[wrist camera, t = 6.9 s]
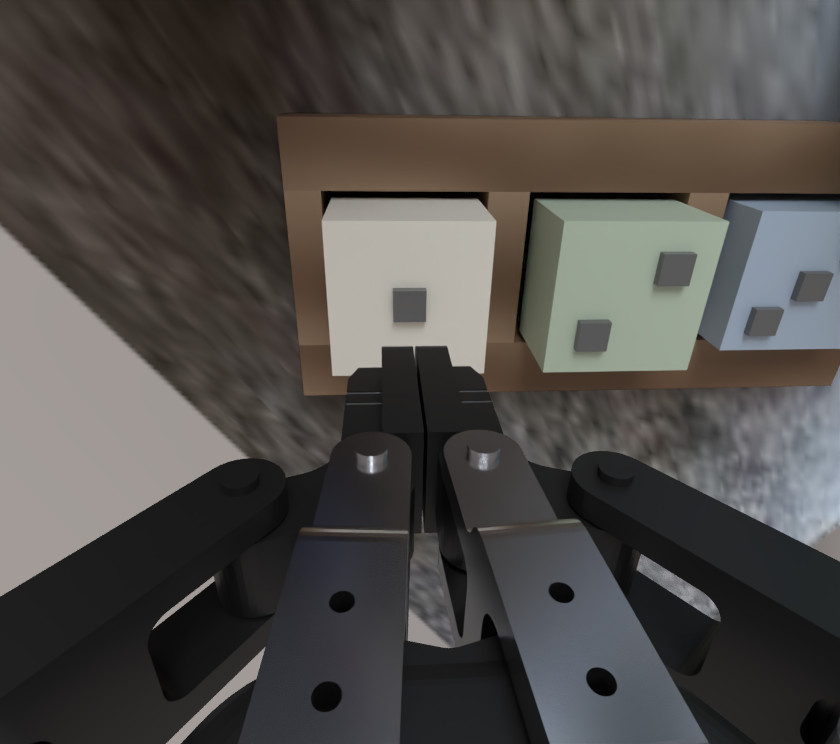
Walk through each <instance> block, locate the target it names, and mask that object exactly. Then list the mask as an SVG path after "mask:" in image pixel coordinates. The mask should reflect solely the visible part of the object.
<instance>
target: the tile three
mask: <svg viewBox="0 0 840 744" xmlns="http://www.w3.org/2000/svg"><path fill="white" fill-rule="evenodd" d="M723 219H724V220H727V221H729V225H728V229H727V232H726V236H725V239H724V243H723V246H722V250H721V253H720V257H719V260H718V264H717V267H716V271H715V274H714V278H713V281H712V285H711V288H710V292H709V295H708V299H707V302H706V306H705V309H704V313H703V316H702V320H701V323H700V326H699V330H698V334H699V335H701V336H702V337H703V338H704V339H706V340H707V341H708V342H710V343H711V344H712V345H713V346H715V347H716V348H717V349H718V350H781V349H840V195H838V194H802V193H730V194H729V197H728V201H727V205H726V208H725V212H724V215H723Z"/></svg>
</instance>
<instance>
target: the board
mask: <svg viewBox="0 0 840 744" xmlns="http://www.w3.org/2000/svg"><path fill="white" fill-rule="evenodd" d="M276 121H277V130H278V140H279V150H280V160H281V170H282V180H283V190H284V200H285V210H286V220H287V230H288V240H289V250H290V260H291V270H292V280H293V290H294V300H295V309H296V319H297V329H298V339H299V349H300V359H301V369H302V379H303V389H304V395H346V394H347V384H348V378H349V377H350V376H332V363H331V348H330V334H329V320H328V305H327V291H326V277H325V263H324V248H323V234H322V219H323V216H324V214H325V212H326V209H327V207H328V204H327V191H436V192H479V197H478V200H479V201H480V202H481V203H482V204H483V206H484V207H485V208H486V209H487V210H488V212H489V213H490V214H491V215H492V216H493V218H494V219H495V220H496V234H495V246H494V258H493V270H492V282H491V294H490V306H489V318H488V330H487V342H486V354H485V366H484V373H481V374H480V375H481V376H483V378H484V381H485V384H486V387H487V392H514V391H568V390H621V389H674V388H727V387H780V386H831V383H832V381H833V379H834V377H835V374H836V372H837V370H838V367H839V365H840V349H781V350H718V349H717V348H716V347H715V346H713V345H712V344H711V343H710V342H708V341H707V340H706V339H704V338H703V337H702V336H701V335H699V334H698V333H697V337H696V340H695V344H694V347H693V351H692V354H691V358H690V361H689V365H688V368H687V370H662V371H602V372H542V370H541V368H540V366H539V364H538V363H537V361H536V359H535V357H534V356H533V354H532V352H531V350H530V348H529V347H528V345H527V343H526V341H525V339H524V338H523V336H522V334H521V332H520V331H519V328H520V322H516V317H517V308H518V299H519V290H520V281H521V272H522V263H523V254H524V244H525V235H526V226H527V217H528V208H529V199H530V192H619V193H661V197H660V199H674V200H677V201H679V202H682V203H684V204H687V205H689V206H692V207H694V208H697V209H699V210H702V211H704V212H707V213H709V214H712V215H714V216H717V217H719V218H722V219H723V215H724V212H725V208H726V205H727V201H728V197H729V194H730V193H802V194H838V195H840V121H797V120H729V119H661V118H592V117H524V116H456V115H388V114H320V113H285V114H282V115H278V116H276Z"/></svg>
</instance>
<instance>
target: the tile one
mask: <svg viewBox="0 0 840 744" xmlns="http://www.w3.org/2000/svg"><path fill="white" fill-rule="evenodd" d="M322 234H323V248H324V263H325V277H326V291H327V305H328V320H329V334H330V348H331V363H332V376H351V375H352V374H353V373H354V372H355V371H356V370H357V369H358V368H371V367H382V347H384V346H413V350H414V358H415V346H447V348H448V351H449V355H450V359H451V363H452V366H470V367H472V368H473V369H474V370H475V371H476V372H478V373H479V374H481V373H484V366H485V354H486V342H487V330H488V318H489V306H490V294H491V282H492V270H493V258H494V246H495V234H496V220H495V219H494V218H493V216H492V215H491V214H490V213H489V212H488V210H487V209H486V208H485V207H484V206H483V204H482V203H481V202H480V201H479V200H478V198H335V197H332V198H331V200H330V202H329V205H328V207H327V209H326V212H325V214H324V216H323V219H322Z"/></svg>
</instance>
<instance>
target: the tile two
mask: <svg viewBox="0 0 840 744" xmlns="http://www.w3.org/2000/svg"><path fill="white" fill-rule="evenodd" d="M728 225H729V221H727V220H724V219H722V218H719V217H717V216H714V215H712V214H709V213H707V212H704V211H702V210H699V209H697V208H694V207H692V206H689V205H687V204H684V203H682V202H679V201H677V200H674V199H548V198H534V205H533V214H532V222H531V231H530V240H529V249H528V258H527V266H526V275H525V284H524V293H523V302H522V310H521V319H520V328H519V331H520V332H521V334H522V336H523V338H524V339H525V341H526V343H527V345H528V347H529V348H530V350H531V352H532V354H533V356H534V357H535V359H536V361H537V363H538V364H539V366H540V368H541V370H542V372H602V371H662V370H687V368H688V365H689V361H690V358H691V354H692V351H693V347H694V344H695V340H696V337H697V333H698V330H699V326H700V323H701V320H702V316H703V313H704V309H705V306H706V302H707V299H708V295H709V292H710V288H711V285H712V281H713V278H714V274H715V271H716V267H717V264H718V260H719V257H720V253H721V250H722V246H723V243H724V239H725V236H726V232H727V229H728Z"/></svg>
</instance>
